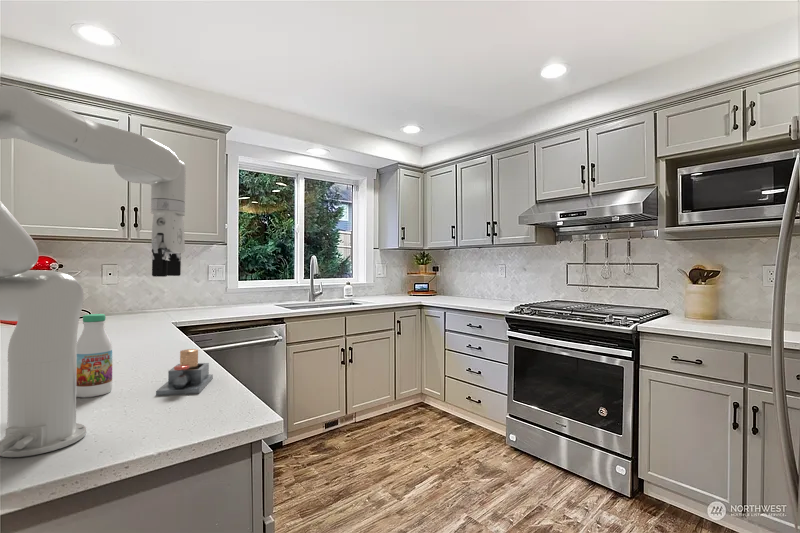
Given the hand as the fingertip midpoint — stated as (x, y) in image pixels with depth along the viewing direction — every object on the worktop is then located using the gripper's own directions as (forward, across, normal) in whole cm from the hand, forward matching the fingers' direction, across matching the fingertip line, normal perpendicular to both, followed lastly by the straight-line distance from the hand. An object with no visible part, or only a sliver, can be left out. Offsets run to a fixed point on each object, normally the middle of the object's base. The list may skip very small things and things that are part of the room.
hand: (166, 276), depth 103 cm
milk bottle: (+30, +4, +18) cm, 35 cm away
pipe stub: (+29, +9, -3) cm, 30 cm away
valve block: (+30, +7, -3) cm, 31 cm away
